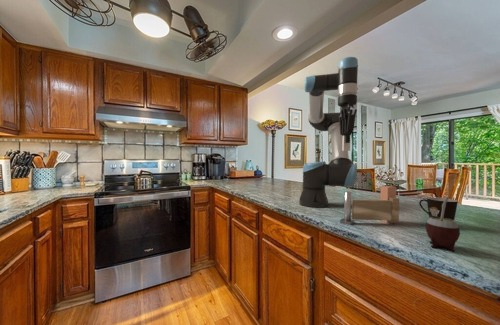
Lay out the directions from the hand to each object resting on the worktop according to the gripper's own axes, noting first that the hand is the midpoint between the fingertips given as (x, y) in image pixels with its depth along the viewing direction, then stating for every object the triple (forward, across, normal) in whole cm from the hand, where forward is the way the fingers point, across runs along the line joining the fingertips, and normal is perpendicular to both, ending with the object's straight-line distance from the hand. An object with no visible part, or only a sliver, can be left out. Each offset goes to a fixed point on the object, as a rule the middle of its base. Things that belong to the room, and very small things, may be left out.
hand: (346, 150), depth 90 cm
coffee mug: (+29, -11, -31) cm, 44 cm away
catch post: (+28, -8, -14) cm, 32 cm away
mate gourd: (+28, -33, -13) cm, 45 cm away
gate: (+27, -11, -7) cm, 30 cm away
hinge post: (+28, -11, +4) cm, 30 cm away
